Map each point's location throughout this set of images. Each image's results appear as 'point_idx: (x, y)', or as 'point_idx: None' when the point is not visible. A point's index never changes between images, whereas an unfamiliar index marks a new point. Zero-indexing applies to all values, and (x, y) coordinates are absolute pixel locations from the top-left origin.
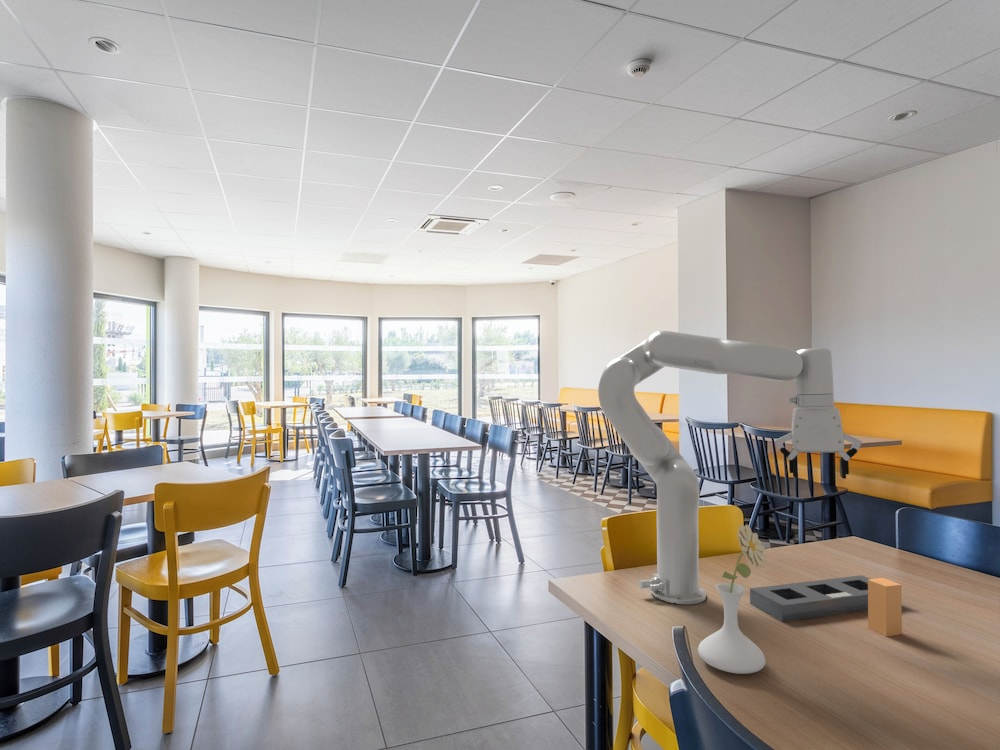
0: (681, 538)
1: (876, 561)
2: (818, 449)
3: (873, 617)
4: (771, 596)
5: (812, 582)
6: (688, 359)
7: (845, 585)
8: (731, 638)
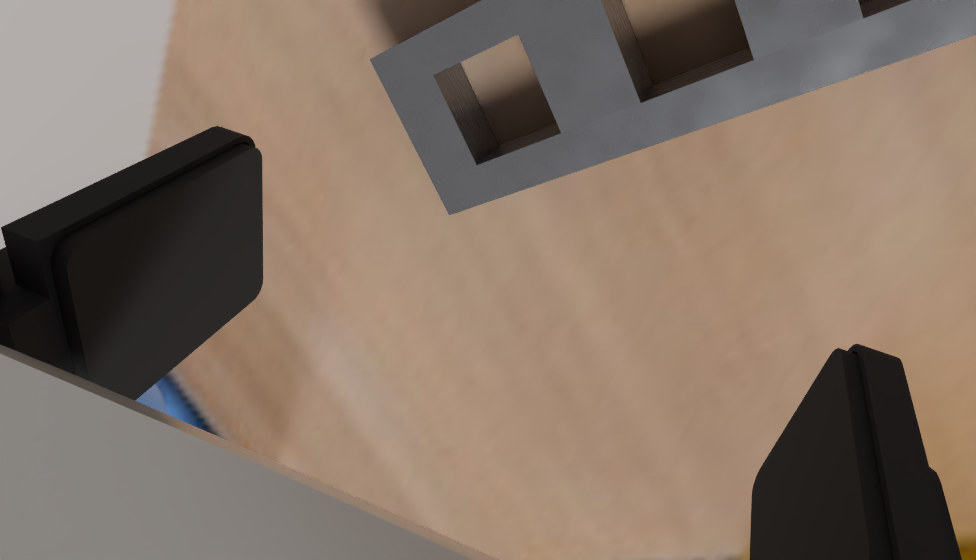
0: None
1: (344, 422)
2: (260, 534)
3: None
4: None
5: (690, 116)
6: None
7: (557, 92)
8: None
